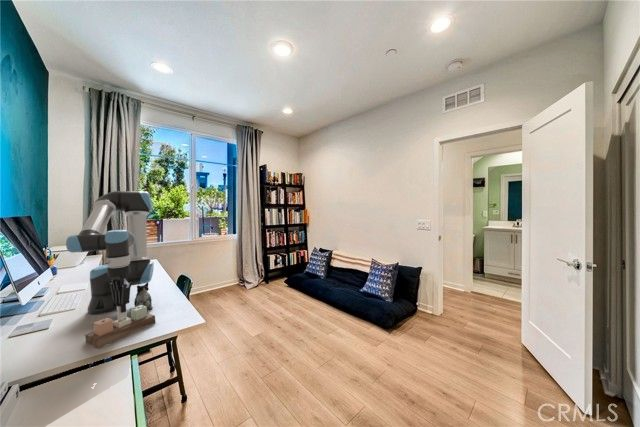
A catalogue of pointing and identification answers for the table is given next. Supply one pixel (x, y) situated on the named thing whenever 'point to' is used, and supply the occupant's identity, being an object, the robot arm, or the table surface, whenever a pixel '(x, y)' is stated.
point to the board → (119, 332)
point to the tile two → (122, 322)
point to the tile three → (138, 312)
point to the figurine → (143, 297)
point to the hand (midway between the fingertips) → (122, 318)
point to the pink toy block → (103, 326)
